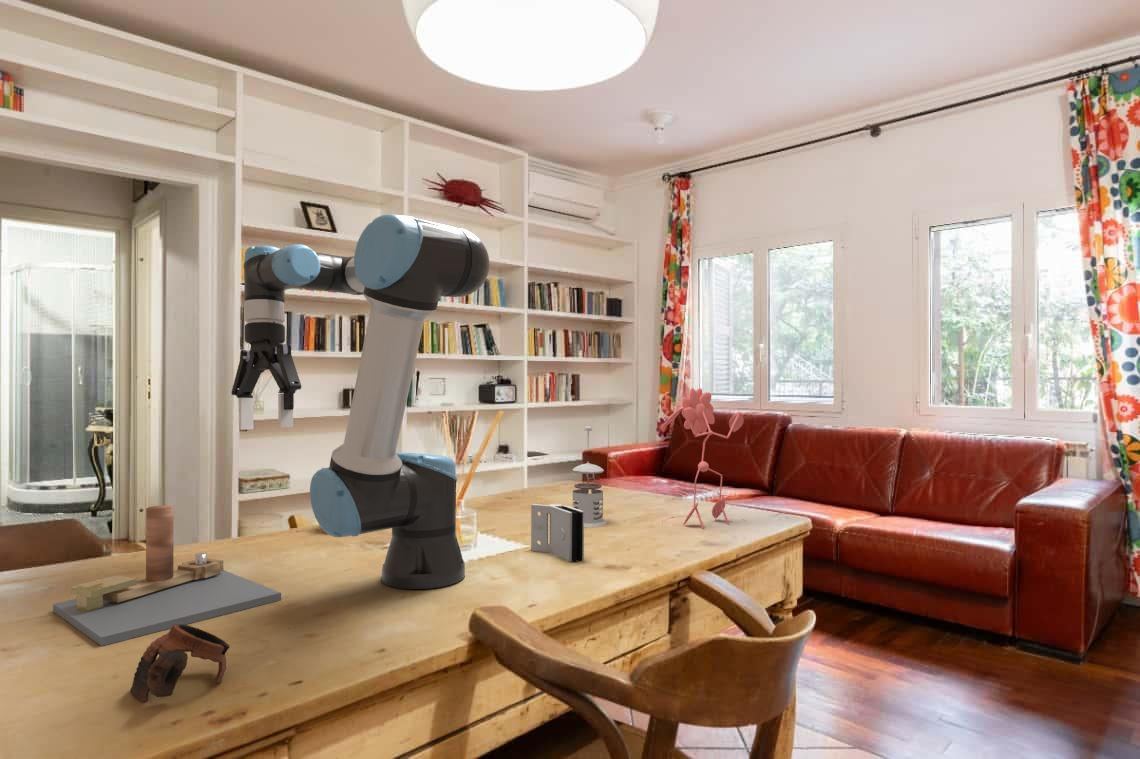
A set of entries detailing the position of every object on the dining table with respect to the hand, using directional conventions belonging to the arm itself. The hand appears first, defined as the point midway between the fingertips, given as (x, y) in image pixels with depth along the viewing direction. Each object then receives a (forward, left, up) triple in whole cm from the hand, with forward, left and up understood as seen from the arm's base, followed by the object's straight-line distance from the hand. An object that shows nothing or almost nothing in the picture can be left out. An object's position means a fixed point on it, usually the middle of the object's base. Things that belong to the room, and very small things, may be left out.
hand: (265, 428), depth 139 cm
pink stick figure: (-47, -92, -27) cm, 106 cm away
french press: (-26, -73, -27) cm, 82 cm away
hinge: (-41, -43, -27) cm, 65 cm away
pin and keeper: (-8, +24, -26) cm, 36 cm away
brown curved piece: (-47, +35, -27) cm, 64 cm away
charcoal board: (-14, +23, -27) cm, 38 cm away
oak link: (-7, +21, -25) cm, 33 cm away
